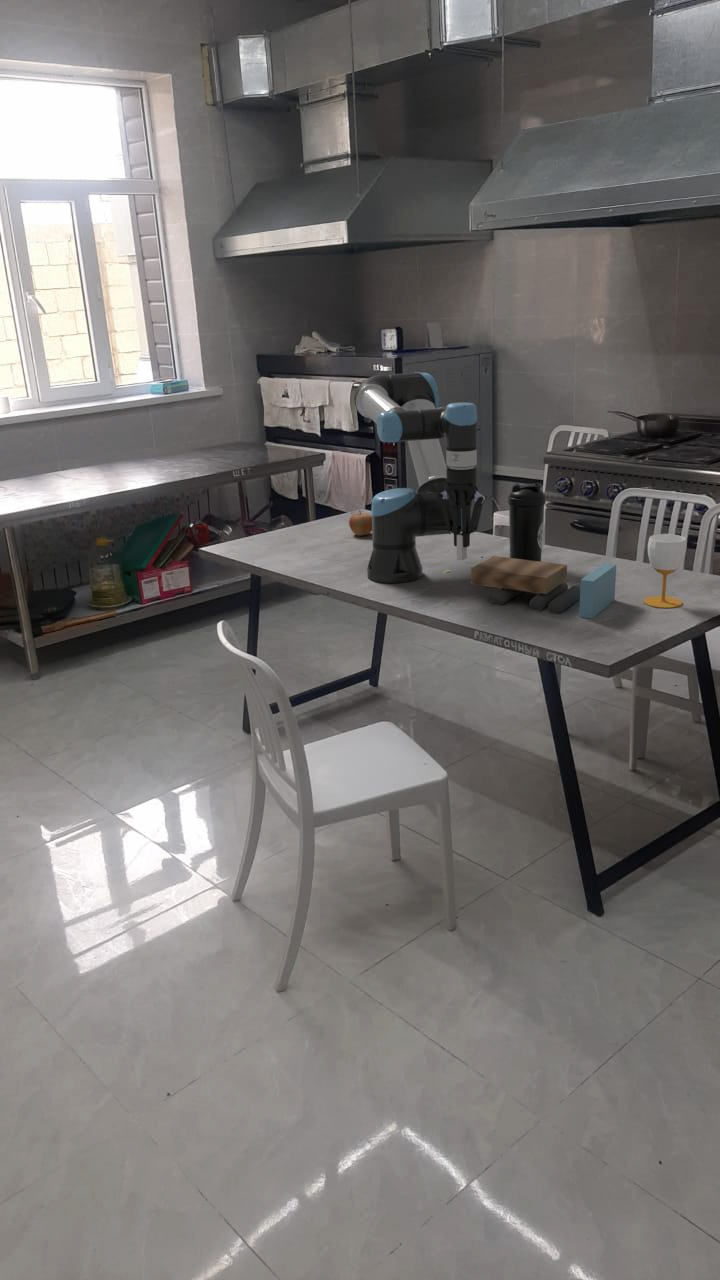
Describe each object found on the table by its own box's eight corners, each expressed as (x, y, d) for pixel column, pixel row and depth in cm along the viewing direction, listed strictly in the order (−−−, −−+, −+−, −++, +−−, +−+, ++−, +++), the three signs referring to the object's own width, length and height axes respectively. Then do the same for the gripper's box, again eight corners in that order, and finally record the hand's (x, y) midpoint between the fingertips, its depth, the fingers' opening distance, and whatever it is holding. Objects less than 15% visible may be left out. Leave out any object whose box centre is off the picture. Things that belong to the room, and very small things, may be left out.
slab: (471, 583, 241) (471, 568, 240) (493, 570, 252) (493, 556, 250) (546, 594, 231) (546, 578, 230) (566, 580, 241) (567, 564, 240)
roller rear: (491, 591, 237) (491, 604, 238) (504, 592, 235) (504, 606, 237) (518, 574, 250) (518, 587, 251) (530, 576, 248) (530, 589, 249)
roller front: (554, 597, 228) (545, 607, 230) (565, 606, 228) (556, 617, 230) (578, 580, 241) (570, 589, 243) (589, 589, 240) (581, 599, 242)
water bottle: (543, 571, 263) (545, 487, 255) (505, 570, 265) (507, 487, 258) (544, 561, 273) (546, 480, 265) (507, 561, 275) (509, 480, 267)
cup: (676, 610, 228) (681, 544, 223) (638, 605, 233) (642, 540, 227) (686, 600, 235) (692, 535, 230) (649, 595, 240) (654, 532, 234)
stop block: (579, 616, 226) (580, 579, 223) (602, 598, 239) (604, 563, 236) (591, 618, 225) (593, 581, 222) (614, 599, 237) (616, 564, 234)
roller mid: (545, 601, 230) (532, 594, 231) (539, 614, 232) (527, 607, 233) (570, 584, 243) (558, 578, 244) (565, 596, 244) (553, 589, 246)
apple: (347, 538, 308) (346, 513, 305) (351, 532, 315) (350, 507, 312) (372, 538, 306) (371, 513, 304) (376, 532, 314) (375, 507, 311)
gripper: (431, 467, 241) (432, 559, 248) (478, 470, 234) (478, 565, 242) (445, 463, 247) (446, 553, 254) (491, 466, 240) (491, 558, 247)
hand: (461, 558), depth 248 cm, fingers closed
